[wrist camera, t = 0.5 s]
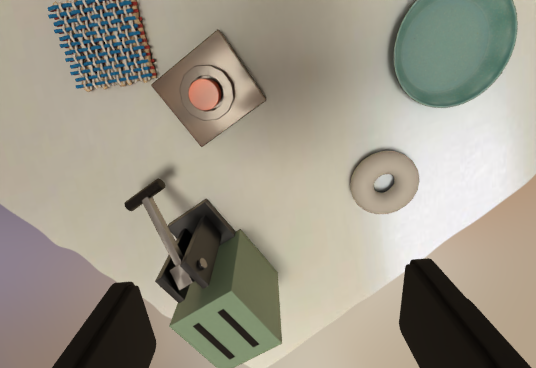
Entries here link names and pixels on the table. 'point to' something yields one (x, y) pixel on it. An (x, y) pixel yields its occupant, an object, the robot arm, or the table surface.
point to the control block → (224, 74)
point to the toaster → (232, 307)
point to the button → (204, 94)
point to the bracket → (195, 247)
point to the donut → (373, 169)
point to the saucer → (453, 49)
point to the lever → (161, 229)
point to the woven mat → (128, 41)
